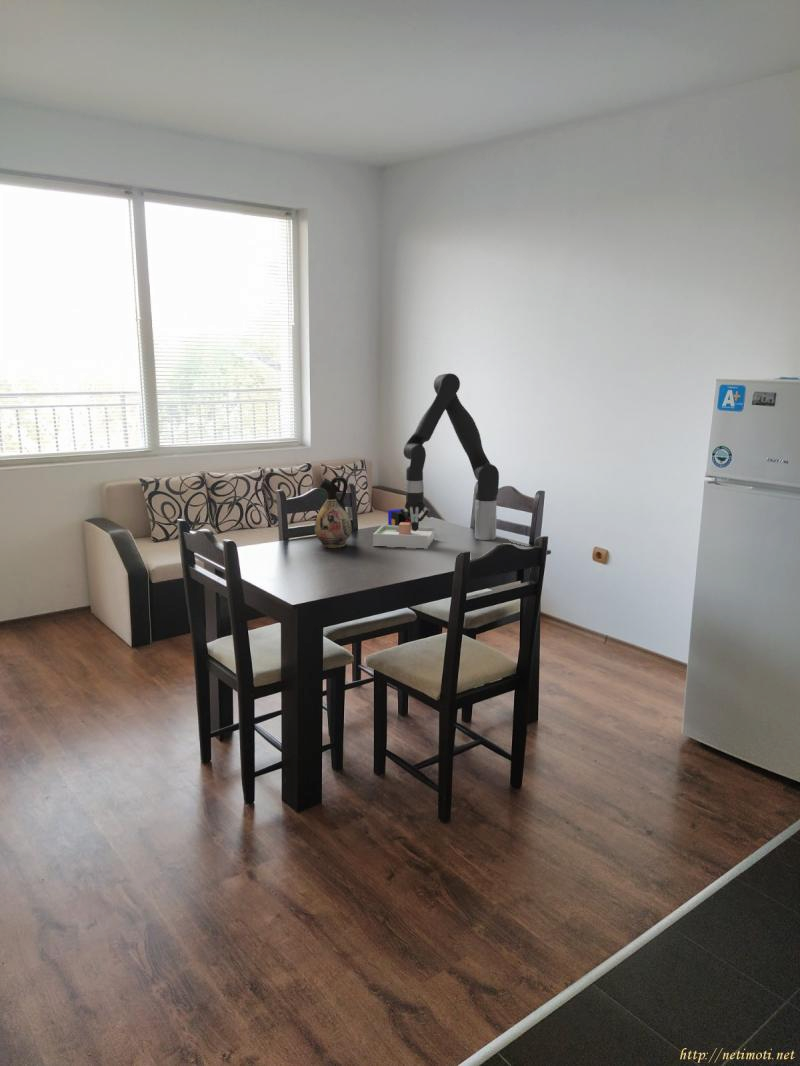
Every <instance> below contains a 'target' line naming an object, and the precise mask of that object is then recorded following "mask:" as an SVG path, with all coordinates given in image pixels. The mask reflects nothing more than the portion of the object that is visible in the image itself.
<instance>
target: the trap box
mask: <svg viewBox="0 0 800 1066" xmlns="http://www.w3.org/2000/svg"><path fill="white" fill-rule="evenodd" d="M434 529H435V527H434V526H419V528H418V530H417V531H413V530H412V526H411V534H410V535H402V534H399V526H391V525H386V524H385V525H384V524H382V525H381V526H380V527H379V528H378V529H377V530H376V531H375V532H373V533H372V546H387V547H386V548H395V547H406V548H405V549H416V548H424V549H423V550H428V548H429V547H430V546H431V543H432V542H433V541H434V540H435V538H434V535H435V534H434V533H435V532H434ZM433 539H434V540H433ZM428 546H429V547H428Z"/></svg>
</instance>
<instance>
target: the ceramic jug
mask: <svg viewBox="0 0 800 1066" xmlns="http://www.w3.org/2000/svg"><path fill="white" fill-rule="evenodd" d="M337 482H340V483H342V484H343V487H342V491H341V494H340V497H339V498H338V495H337V493H338V492H340V487H338V485H337V484H336V483H337ZM316 488H317V489H320V490H323V491H325V492H326V493H327V498H326V501H324V503H323V505H322V506H321V508H320V509H319V512H318V513H317V516H316V519H315V523H314V533H315V535H316V537H317V539H318V540H319V541H320V543H321V546H322V547H323V548H325V547H328V548H327V549H337V547H338V548H342V547H345V546H346V542H347V541H348V539H349V537H350V536H351V535H352V521H351V518H350V516H349V514H348V512H347V509H346V505H345V501H344V499H345V498H346V493H347V489H348V482H347V478H345V477H343V476H342V475H339V476H334V477H333V478H332V480H331V481H328V480H327V479H323V480H322V482H321V483H320V484H318V486H317V487H316Z"/></svg>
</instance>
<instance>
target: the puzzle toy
mask: <svg viewBox="0 0 800 1066" xmlns="http://www.w3.org/2000/svg"><path fill="white" fill-rule="evenodd" d="M401 509H402V508H398V509H388V510H387V511H388V513H387V515H388V516H387V517H388V519H387V521H388V522H387V524H388V525H391V526H399V524H400V523H401V522H405V523H411V521H408V520H407V519H406V518H405V517H404V515H403V514H402V513H401V512H400V510H401ZM406 510H407V509H406ZM406 512H407V514H408V515H409V516H410V518H411V515H410V513H409V512H408V511H406ZM411 526H412V523H411Z"/></svg>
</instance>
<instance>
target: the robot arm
mask: <svg viewBox="0 0 800 1066" xmlns="http://www.w3.org/2000/svg"><path fill="white" fill-rule="evenodd" d="M460 387H461V381H460V379H459V376H457V375H456V374H454V373H451V372H450V373H442V374H440V375H438V376H436V377H435V379H434V382H433V389H434V392H435V393H436V395H435V398H434V400H433V402H432V403H431V405H430V406H429V408H427V410H426V411H425V413H424V414H423V416H422V417H421V419H420V421H419V423H418V425H417V426H416V429H415V431H414V432H413V434H412V435H411V436H410V438H409V439H408V440H407V441H406V443H405V444H404V447H403V455H404V457H405V458H406V459H408V460H410V463H409V464H410V465H409V466H407V467H406V471H405V472H406V474H405V475H406V476H405V478H406V481H405V503H404V506H403V507H402V508H400V509H401V510H400V512H401V513H402V514H403V515H404V517H405V518H406V519H407V520H408V521H411V523H412V530H413V531H417V530H418V528H419V527H420V526H419V525H420V523H419V522H422V521H423V520H424V519H425V517H426V516H427V515H428V514H429V512H430V511H431V509H430V508H427V507H426V504H425V501H424V500H425V496H424V495H425V491H424V489H425V487H424V486H425V485H424V472H423V471H424V467H425V463H426V462H425V461H426V458H427V457H426V456H427V454H426V449H425V447H424V443H426V442H429V441H430V439H431V438H432V436H433V434H434V432H435V430H436V427H437V425H438V424H439V421H440V420H441V418H442V416H443V414H444V412H445V411H446V414H447V416H448V418H449V420H450V423H451V425H452V427H453V429H454V432H455V434H456V436H457V438H458V441H459V443H460V444H461V447H462V449H463V450H464V452H465V454H466V455H467V457H468V460H469V463H470V466H471V468H472V472H473V475H474V478H475V480H477V491H476V493H475V501H474V502H475V505H474V507H475V509H474V538H475V539H477V540H481V541H494V540H496V539H497V500H498V499H497V498H498V494H499V483H500V473H499V469H498V468H497V467H496V466H495V465H494V464H492V463H491V462H490V460H489V459H488V457H487V455H486V453H485V451H484V448H483V444H482V439H481V434H480V431H479V429H478V426H477V424H476V422H475V420H474V418H473V416H472V415H471V414H470V412H468V410H467V409H466V408H465V406H464V405H463V404H462V402H461V401H460V399H459V396H458V394H457V393H458V391H459V390H460ZM406 509H407V510H406ZM406 511H408V512H409V513H410V515H411V518H410V516H409V515H408V514H407V512H406ZM422 512H423V513H422ZM421 513H422V515H421V517H420V514H421Z"/></svg>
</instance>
